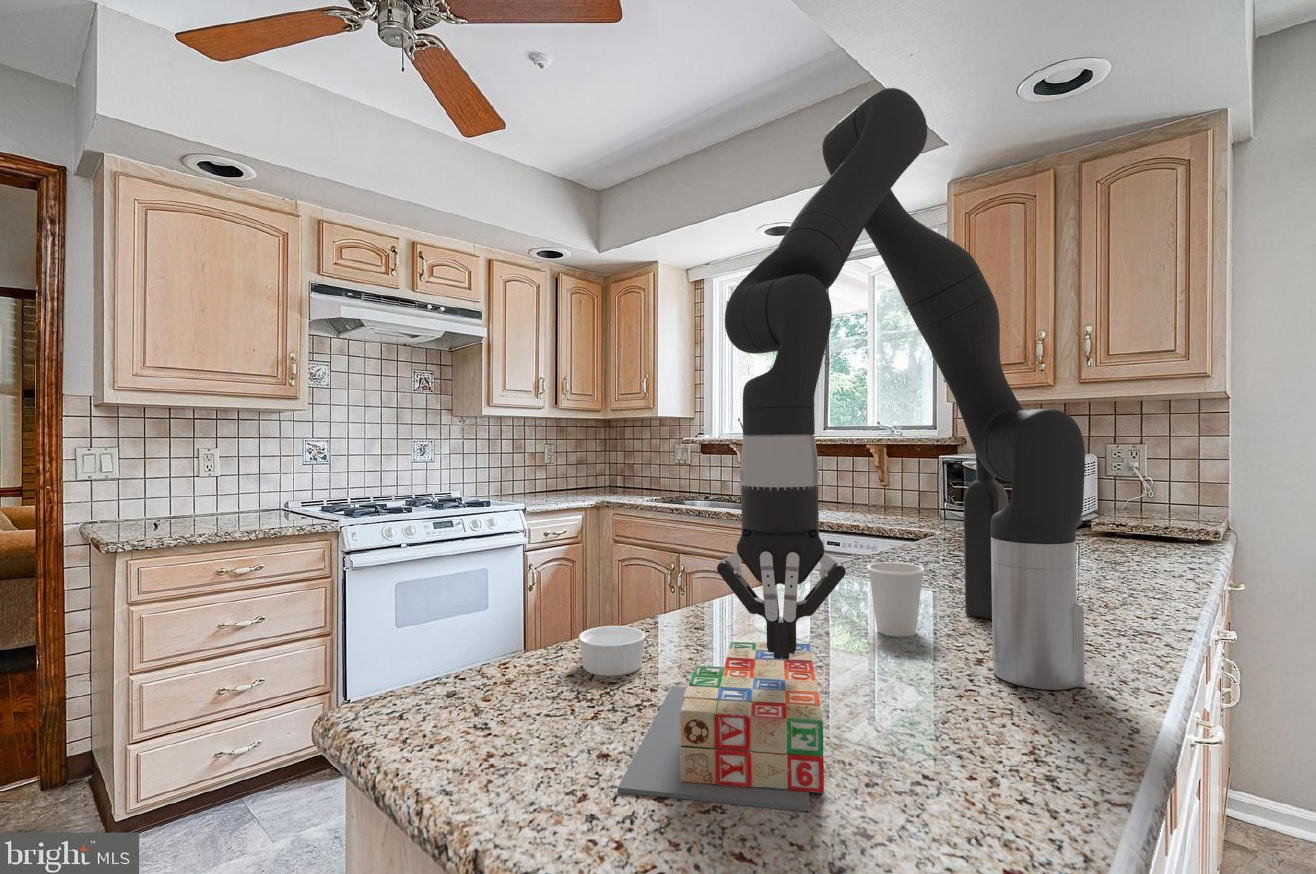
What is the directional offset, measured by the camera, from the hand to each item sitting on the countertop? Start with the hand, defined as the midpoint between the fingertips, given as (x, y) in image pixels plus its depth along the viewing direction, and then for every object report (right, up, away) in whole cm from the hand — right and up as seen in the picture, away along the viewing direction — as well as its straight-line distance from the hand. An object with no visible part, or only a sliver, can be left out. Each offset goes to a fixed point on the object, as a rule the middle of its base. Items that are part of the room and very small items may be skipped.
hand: (781, 656), depth 66 cm
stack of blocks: (+4, -5, 0) cm, 6 cm away
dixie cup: (+25, -9, +38) cm, 46 cm away
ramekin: (-18, -9, +23) cm, 31 cm away
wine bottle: (+43, -8, +46) cm, 63 cm away
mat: (-5, -9, +1) cm, 10 cm away
